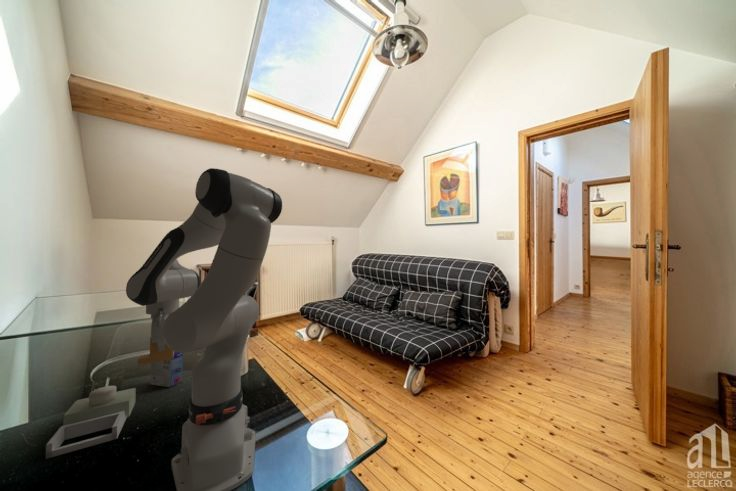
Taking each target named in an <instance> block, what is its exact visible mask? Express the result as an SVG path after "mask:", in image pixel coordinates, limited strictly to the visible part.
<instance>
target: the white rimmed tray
mask: <svg viewBox="0 0 736 491" xmlns="http://www.w3.org/2000/svg"><path fill="white" fill-rule="evenodd" d="M136 392H137V389H136V387H133V388H127V389H123V390H118V391H117V385H106V386H102V387H98V388H96V389H94V390H92V391H91V392H89V393H88V397H85V398H81V399H80V398H79V399H76V400H75V402H73V403H72V405H71V406H70V407H69V409H68V410H67V411H66V412H65V413H64V414H63V417H62V418H63V421H62V422H63V423H62V424H63V425H61V426H60V427H59V428H58V429H57V431H56V432H55V433H54V434H53V435H52V437H51V438H50V439H49V441H47V443H46V444H45V459H46V460H47V459H50V458H54V457H57V456H61V455H64V454H68V453H72V452H75V451H79V450H83V449H86V448H90V447H93V446H96V445H99V444H104V443H106V442H111V441H114V440H117V439H118V438H119V435H120V433H121V431H122V429H123V427H124V425H125V423H126V420H127V418H129V417H130V416H131V414H132V412H133V409H134V407H135V405H136V398H137V397H136ZM107 429H111V432H110V433H107V434H103V435H99V436H95V437H92V438H88V439H84V440H80V441H78V442H74V443H69V444H67V445H62V444H63V443H64V442H65V441H66V440H70V439H74V438H77V437H78V438H79V437H81V436H85V435H90V434H92V433H97V432H100V431H103V430H107ZM61 445H62V446H61Z"/></svg>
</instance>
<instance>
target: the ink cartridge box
mask: <svg viewBox="0 0 736 491" xmlns="http://www.w3.org/2000/svg"><path fill="white" fill-rule="evenodd" d="M183 365H184V353H178V352H175V351H174V357H173V359H169V360H164V361H158V362H152V363H150V380H149V382H150V383H149V385H151V386H158V387H159V386H161V387H166V388H171V387H173V386H175V385H177V384H179V383H181V381H182V382H183V378H184V377H183V375H184V372H183V370H184V367H183Z"/></svg>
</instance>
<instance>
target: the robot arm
mask: <svg viewBox="0 0 736 491" xmlns="http://www.w3.org/2000/svg"><path fill="white" fill-rule="evenodd" d="M195 198H196V200H197V201H198V203H197V204H196V206H195V207H194V209H193V212H192V213H191V214H190V216H189V217H188V218H187V219H186V220H185V221H184V222H183V223H181V224H180V225H179V226H177V227H175V228H173V229H171V230H170V231H168V232H167V233H166V235H164V236H163V238H162V239H161V240H160V242H159V243H158V244H157V246H156V247H155V248H154V250H153V251H152V252H151V254H150V255H149V256H148V258H147V259H146V260H145V261H144V262H143V264H142V265H141V267H140V268H139V269H138V270H136V271H135V273H133V274H132V275H131V276H130V278H129V279H128V281H127V282H126V285H125V286H126V287H125V293H126V296H127V298H128V299H129V300H130V301H132V302H133V303H134V304H137V305H139V306H142V307H145V314H146V315H150V318H151V326H150V337H151V342H152V343H155V342H157V346H158V351H164V350H165V343H166V345H167V346H168V347H169V348H170V349H171V350H173V351H175V352H178V353H183V354H184V353H190V352H195V351H196V352H197V351H201V350H203V349H204V351H203V353H202V355H201V356H200V357H199V358H198V360H196V362H195V363H194V366H193V368H192V370H191V398H190V400H189V405H188V418H187V420H186V421H185V422H184V423H183V424H182V429H181V448H180V450H179V453H177V454H176V455H175V456H174V457H173V458H172V459H171V464H170V466H171V471H172V475H173V480H174V484H175V488H176V491H232V490H234V489H236V488H238V487H239V486H241V485H243V484H244V483H245V482H246V481H248V480H249V479H250V478H251V477H253V475H254V470H255V469H254V468H255V467H254V466H255V453H256V452H255V451H256V450H255V449H256V440H257V439H256V431H255V430H253V429H251V428H250V427H248V424H249V423H250V422H251V417H250V416H248V406H247V405H245V404H243V397H244V394H243V387H242V386H241V381H242V379H241V375H242V374H241V373H242V362H243V360H242V359H243V354H244V350H245V346H246V344H247V340H248V337H249V334H250V332H251V331H252V329H253V326H254V325H255V323H257V320H258V319H259V315H260V306H259V304H258V302H257V299H255V298H254V297H252V296H250V295H248V294H246V293H247V292H249V290H251V289H252V287H253V286H254V285H255V283H256V280H257V278H258V275H259V272H260V269H261V266H262V264H263V262H264V259H265V256H266V252H267V249H268V245H269V241H270V236H271V230H272V224H273V223H274V222H276V221H277V219H278V218H279V217H280V216H281V213H282V211H283V201H282V199H283V198H281V195H280V194H279V193H277V192H276V191H275V190H273V189H271V188H269V187H266V186H263V185H262V184H259V183H257V182H255V181H254V180H251V179H250V178H247V177H245V176H242V175H239V174H235V173H232V172H228V171H227V170H225V169H220V168H213V167H212V168H211V167H210V168H208V169H205V170H204V171H203V172H202V173H201V174H200V175H199V177H198V180H197V182H196V186H195ZM213 247H217V249H216V251H215V254H214V256H213V260H212V261H211V264H210V266H209V269H208V271H207V274H206V275H205V277H204V279H203V280H202V282H201V278H200V276H199V274H198V272H197V271H195V270H194V269H193V268H192V269H191V268H187V267H185V266H183V265H181V263H180V262H179V261H178V259H179V258H180V257H182V256H184V255H186V254H189V253H192V252H196V251H201V250H204V249H209V248H213ZM186 298H188V299H187V300H186V301H185V302H184V303H182V305H181V306H180V299H186Z"/></svg>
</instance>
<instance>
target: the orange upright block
mask: <svg viewBox="0 0 736 491" xmlns="http://www.w3.org/2000/svg"><path fill="white" fill-rule="evenodd" d="M173 357H174V351H173V350H171V349H170V348H169V347H168V346H167V345H166V343H165V350H164V351H158V346H157V342H155V343H152V342H151V336H150V338H149V354H144V355H140V356H139V357H138V359H137V365H138V366H141V365H146V364H151V363H152V362H158V361H164V360H169V359H173Z"/></svg>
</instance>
